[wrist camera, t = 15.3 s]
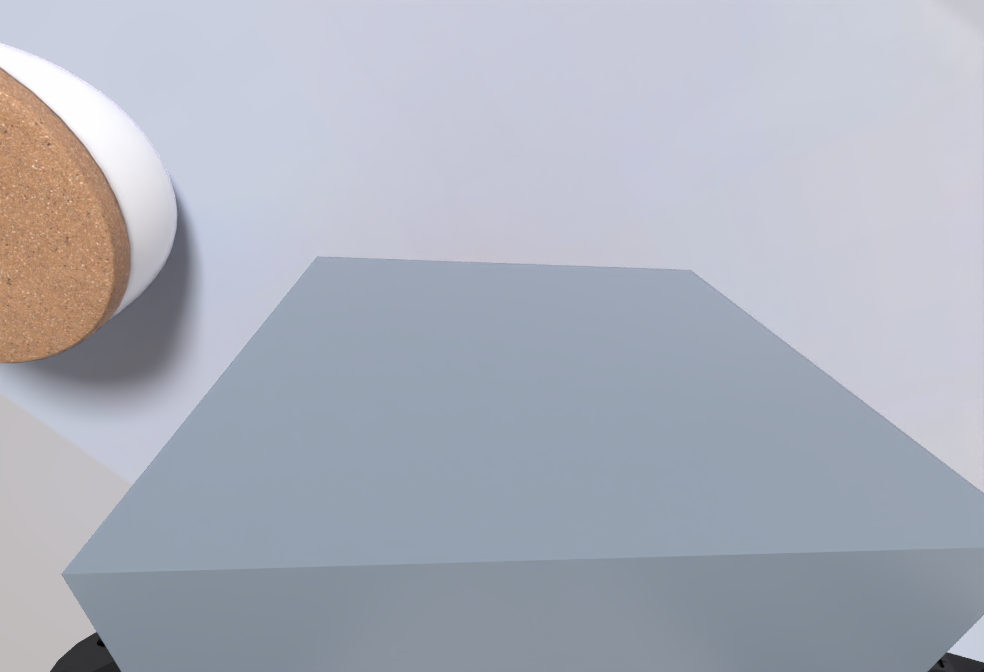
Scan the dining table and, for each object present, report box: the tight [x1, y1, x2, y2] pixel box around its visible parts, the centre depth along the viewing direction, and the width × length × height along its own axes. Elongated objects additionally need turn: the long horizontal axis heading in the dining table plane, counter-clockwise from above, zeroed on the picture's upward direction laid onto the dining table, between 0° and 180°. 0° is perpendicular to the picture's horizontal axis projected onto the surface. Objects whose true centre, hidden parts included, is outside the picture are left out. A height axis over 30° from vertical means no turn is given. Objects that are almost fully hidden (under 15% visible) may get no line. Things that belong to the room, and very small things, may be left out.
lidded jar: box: [0, 43, 177, 363], centre depth 17 cm, size 11×11×9 cm
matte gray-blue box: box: [62, 257, 984, 672], centre depth 11 cm, size 10×10×9 cm
